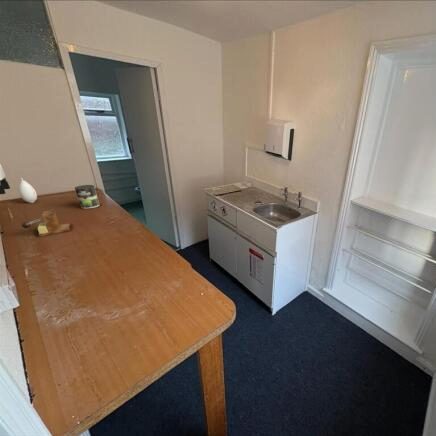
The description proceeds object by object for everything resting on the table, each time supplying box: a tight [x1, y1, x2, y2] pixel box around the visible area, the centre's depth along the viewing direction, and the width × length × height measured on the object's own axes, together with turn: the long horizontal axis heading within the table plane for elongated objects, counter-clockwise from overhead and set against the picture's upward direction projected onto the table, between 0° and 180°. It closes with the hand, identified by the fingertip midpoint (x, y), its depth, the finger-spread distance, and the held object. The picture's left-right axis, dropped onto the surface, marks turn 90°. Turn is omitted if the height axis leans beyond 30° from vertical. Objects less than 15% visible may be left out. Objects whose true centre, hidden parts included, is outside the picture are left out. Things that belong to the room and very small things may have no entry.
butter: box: [37, 225, 48, 234], centre depth 123 cm, size 3×4×3 cm
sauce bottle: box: [18, 177, 38, 204], centre depth 161 cm, size 8×8×18 cm
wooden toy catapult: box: [37, 209, 71, 237], centre depth 126 cm, size 12×9×11 cm
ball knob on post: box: [21, 212, 52, 229], centre depth 122 cm, size 13×3×3 cm, turn 130°
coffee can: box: [74, 184, 100, 210], centre depth 160 cm, size 10×10×14 cm
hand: (3, 191), depth 112 cm, fingers open, 9 cm apart
